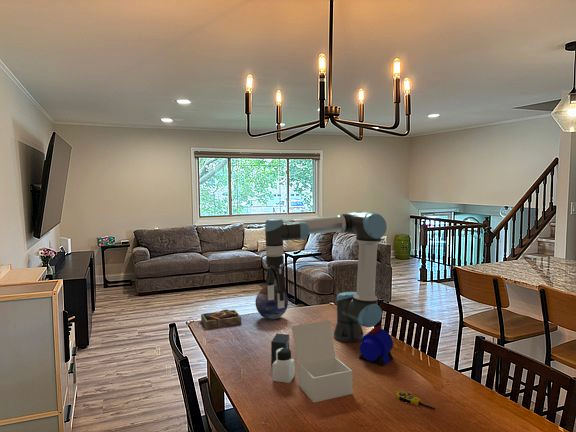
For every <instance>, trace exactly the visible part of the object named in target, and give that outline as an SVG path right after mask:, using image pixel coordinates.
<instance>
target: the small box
mask: <svg viewBox="0 0 576 432" xmlns="http://www.w3.org/2000/svg"><path fill="white" fill-rule="evenodd" d="M270 348H271V349H270V353H271V354H270V355H271V356H270V357H271V358H270V364H271V365H273V363H274V362H275V361H276V351H277V350H278V349H280V348H287V349H290V334H286V333H276V334H275V335H274V336H273V338H272V340H271V341H270Z"/></svg>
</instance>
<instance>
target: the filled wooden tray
mask: <svg viewBox="0 0 576 432" xmlns="http://www.w3.org/2000/svg"><path fill="white" fill-rule="evenodd" d="M229 310H230V309H229ZM230 311H232V312H235V313H238V312H237V311H236V310H235V309H231V310H230ZM215 312H216V311H214V312H213V311H212V312H206V313H200V322H202V324H203V327H205V329H214V328H220V327H221V326H222V327H226V326H227V327H228V325H229V326H235V325H241V324H242V316H241V315H240V314H239V313H238V314H237V317H232V318H225V319H219V320H209V321H207V317H206V316H205V315H207V314H212V313H215ZM217 323H218V326H217Z"/></svg>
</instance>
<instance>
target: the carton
mask: <svg viewBox="0 0 576 432" xmlns="http://www.w3.org/2000/svg"><path fill="white" fill-rule="evenodd" d="M297 373H298V375H297V376H298V377H297V378H298V382H297V383H298V387H299V388H300V389H301V391H303V393H304V394H305V395H306V396H307V397H308V399H309V400H310V401H311V402H312V403H318V402H322V401H328V400H331V399H335V398H340V397H346V396H349V395H353V370H352V369H351V368H349V367H348V366H347V365H346V364H344V363H343V362H342V361H341V360H340V359H339V358H337V357H336V356H335V357H330V358H324V359H319V360H313V361H308V362H302V363H297Z"/></svg>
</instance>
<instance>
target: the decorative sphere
mask: <svg viewBox="0 0 576 432" xmlns="http://www.w3.org/2000/svg"><path fill="white" fill-rule="evenodd" d="M273 285H274V300H268V285H267V284H266V285H265V286H263V287H262V288H260V289H259V291H258V292H257V294H256V297H255V308H256V310H257V312H258V313H259V315H260V316H261V317H263V318H264V319H267V320H270V321H271V320H272V321H273V320H277V319H279V318H281V317H282V316H283V315H284V314H285V313H286V311H287V309H288V306H289V304H288V303H289V298H288V295H287V292H285V293H284V306H285V308H279V309H278V295H277V291H278V289H277V285H276V284H273ZM281 290H282V289H281Z"/></svg>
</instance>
